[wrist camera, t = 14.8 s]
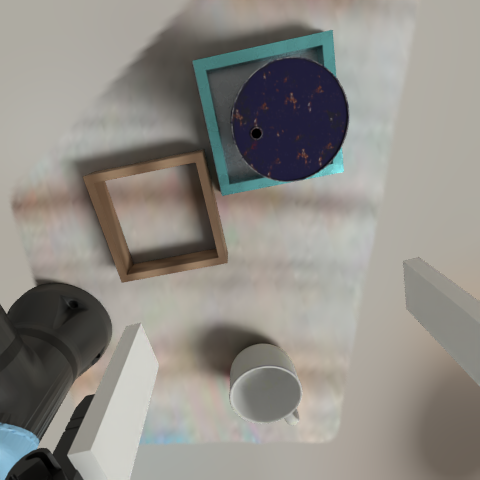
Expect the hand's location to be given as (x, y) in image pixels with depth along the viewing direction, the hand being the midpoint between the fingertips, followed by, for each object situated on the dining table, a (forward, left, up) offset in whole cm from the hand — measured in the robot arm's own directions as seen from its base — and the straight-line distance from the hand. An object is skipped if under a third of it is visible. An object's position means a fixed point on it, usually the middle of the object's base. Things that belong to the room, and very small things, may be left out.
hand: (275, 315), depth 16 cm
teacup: (-3, -31, -31) cm, 44 cm away
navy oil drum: (+4, +8, -30) cm, 31 cm away
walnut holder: (-12, -2, -31) cm, 33 cm away
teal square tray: (+4, +8, -31) cm, 32 cm away
